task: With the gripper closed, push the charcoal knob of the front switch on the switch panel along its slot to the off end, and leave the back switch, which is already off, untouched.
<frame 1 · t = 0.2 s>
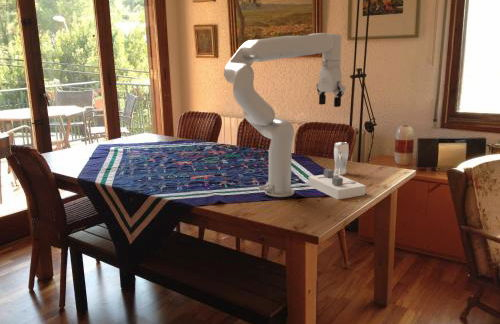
hand: (329, 105, 195), 36 cm above the table, tool pointing down, fingers open, 9 cm apart
switch panel: (335, 189, 198), on the table
back switch: (328, 173, 204), point 6 cm above the table, slide at 4.0 cm
front switch: (337, 181, 191), point 6 cm above the table, slide at 0.0 cm
beer glass: (340, 173, 224), on the table
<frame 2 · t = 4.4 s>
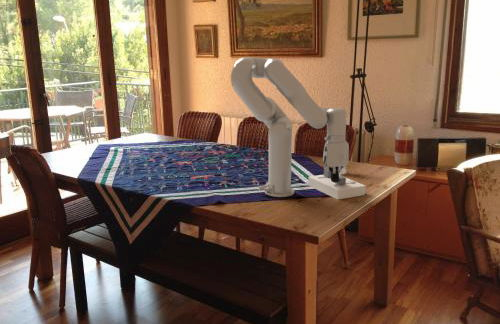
hand: (334, 181, 190), 6 cm above the table, tool pointing down, fingers closed
front switch: (340, 180, 192), point 6 cm above the table, slide at 1.6 cm, touching gripper
everything else where it was.
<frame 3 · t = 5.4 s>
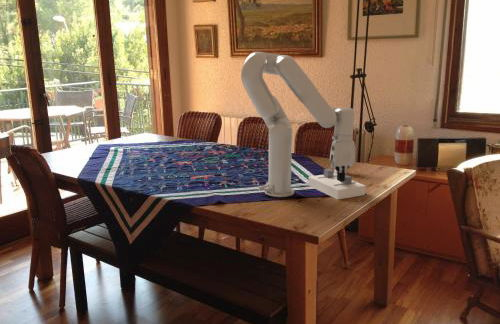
hand: (340, 180, 192), 6 cm above the table, tool pointing down, fingers closed
front switch: (346, 179, 193), point 6 cm above the table, slide at 4.6 cm, touching gripper
everything else where it was.
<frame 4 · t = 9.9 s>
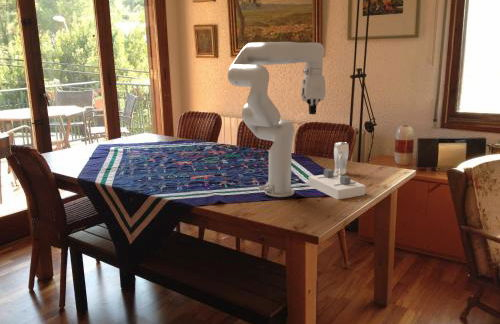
hand: (312, 113, 205), 31 cm above the table, tool pointing down, fingers closed
front switch: (345, 179, 193), point 6 cm above the table, slide at 4.0 cm
everything else where it was.
at the end: front switch slide at 4.0 cm; back switch slide at 4.0 cm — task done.
